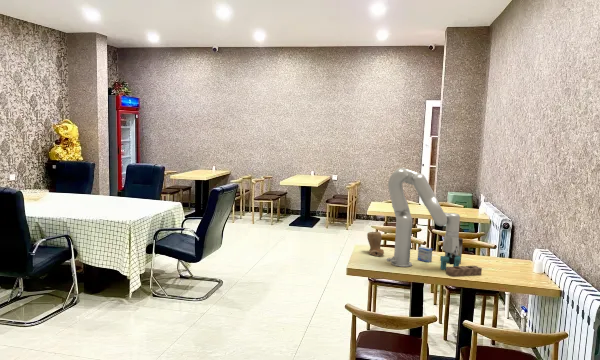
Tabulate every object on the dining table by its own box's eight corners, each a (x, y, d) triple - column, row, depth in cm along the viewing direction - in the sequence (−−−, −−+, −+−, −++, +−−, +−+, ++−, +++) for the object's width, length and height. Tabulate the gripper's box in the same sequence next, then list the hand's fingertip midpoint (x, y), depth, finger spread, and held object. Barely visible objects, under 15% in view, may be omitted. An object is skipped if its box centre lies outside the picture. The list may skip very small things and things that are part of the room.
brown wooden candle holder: (452, 276, 267) (452, 269, 267) (445, 273, 273) (446, 266, 272) (481, 275, 273) (481, 268, 273) (474, 272, 279) (475, 265, 278)
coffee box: (446, 263, 297) (448, 238, 295) (444, 260, 303) (446, 236, 302) (461, 264, 296) (463, 239, 295) (458, 261, 302) (460, 237, 301)
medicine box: (417, 260, 301) (418, 247, 301) (420, 259, 305) (421, 246, 304) (428, 262, 296) (429, 249, 295) (431, 261, 299) (432, 248, 299)
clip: (442, 270, 280) (443, 257, 279) (439, 268, 282) (440, 256, 282) (459, 269, 283) (460, 256, 282) (456, 268, 286) (457, 255, 285)
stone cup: (366, 250, 322) (368, 229, 320) (384, 252, 319) (385, 230, 318) (365, 255, 307) (366, 233, 306) (383, 257, 305) (385, 235, 303)
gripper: (439, 231, 287) (436, 260, 289) (455, 236, 272) (452, 267, 274) (449, 230, 290) (447, 259, 291) (465, 236, 274) (463, 266, 276)
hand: (450, 263), depth 282 cm, fingers closed on clip, 3 cm apart
